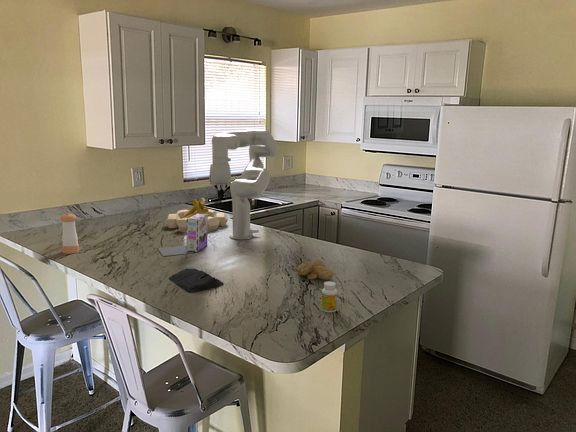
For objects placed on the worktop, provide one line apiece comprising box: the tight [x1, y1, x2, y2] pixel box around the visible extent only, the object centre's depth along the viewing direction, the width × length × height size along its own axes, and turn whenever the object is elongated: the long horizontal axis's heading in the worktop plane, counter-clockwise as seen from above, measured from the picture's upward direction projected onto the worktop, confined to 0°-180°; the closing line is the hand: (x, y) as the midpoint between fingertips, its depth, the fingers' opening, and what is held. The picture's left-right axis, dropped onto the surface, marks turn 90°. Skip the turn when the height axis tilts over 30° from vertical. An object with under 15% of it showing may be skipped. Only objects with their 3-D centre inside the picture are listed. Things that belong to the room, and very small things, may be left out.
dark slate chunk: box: [168, 267, 224, 294], centre depth 193 cm, size 15×22×5 cm
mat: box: [157, 244, 193, 257], centre depth 235 cm, size 14×14×1 cm
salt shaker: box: [59, 212, 80, 255], centre depth 230 cm, size 7×7×19 cm
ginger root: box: [293, 258, 335, 281], centre depth 201 cm, size 16×16×8 cm
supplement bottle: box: [320, 281, 338, 313], centre depth 167 cm, size 5×5×10 cm
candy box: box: [186, 214, 208, 253], centre depth 238 cm, size 14×6×16 cm, turn 168°
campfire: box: [164, 197, 229, 234], centre depth 285 cm, size 35×34×17 cm
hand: (220, 197), depth 240 cm, fingers closed
